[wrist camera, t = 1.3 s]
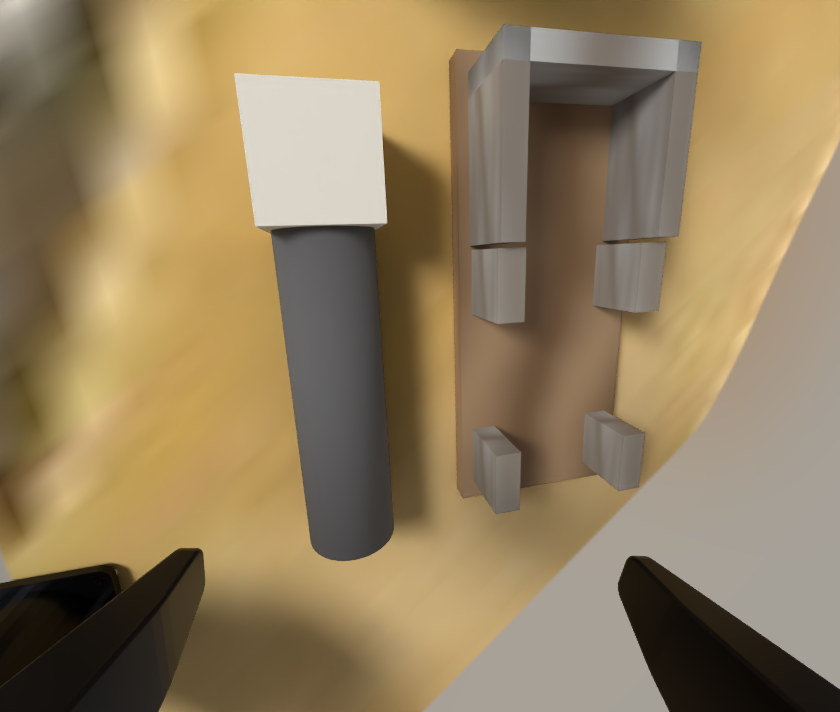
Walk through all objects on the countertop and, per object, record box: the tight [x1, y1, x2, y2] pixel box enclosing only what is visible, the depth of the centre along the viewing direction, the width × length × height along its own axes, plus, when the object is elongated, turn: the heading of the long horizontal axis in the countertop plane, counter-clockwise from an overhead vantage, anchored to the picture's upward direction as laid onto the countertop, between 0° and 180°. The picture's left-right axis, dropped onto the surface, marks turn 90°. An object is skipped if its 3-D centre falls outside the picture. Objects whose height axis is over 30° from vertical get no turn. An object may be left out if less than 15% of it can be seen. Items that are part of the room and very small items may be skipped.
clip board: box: [449, 24, 701, 514], centre depth 18 cm, size 9×21×4 cm, turn 2°
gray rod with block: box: [234, 73, 394, 561], centre depth 17 cm, size 18×4×4 cm, turn 2°
